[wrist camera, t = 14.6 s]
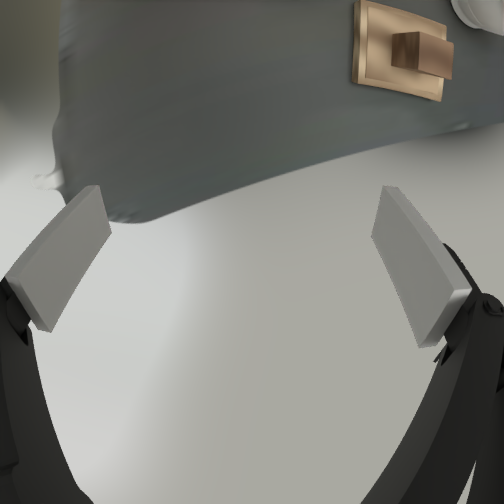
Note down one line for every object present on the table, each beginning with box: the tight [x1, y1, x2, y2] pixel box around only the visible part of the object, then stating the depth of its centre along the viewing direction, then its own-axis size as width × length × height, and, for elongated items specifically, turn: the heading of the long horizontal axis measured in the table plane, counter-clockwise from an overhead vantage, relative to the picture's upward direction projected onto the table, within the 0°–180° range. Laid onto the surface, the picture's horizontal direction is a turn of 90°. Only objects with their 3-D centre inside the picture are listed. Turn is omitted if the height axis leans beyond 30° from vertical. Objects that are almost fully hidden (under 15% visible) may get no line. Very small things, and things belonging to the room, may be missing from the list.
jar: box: [451, 0, 504, 36], centre depth 16 cm, size 11×10×15 cm
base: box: [352, 0, 446, 102], centre depth 29 cm, size 13×14×3 cm
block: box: [391, 31, 454, 80], centre depth 25 cm, size 5×5×8 cm
